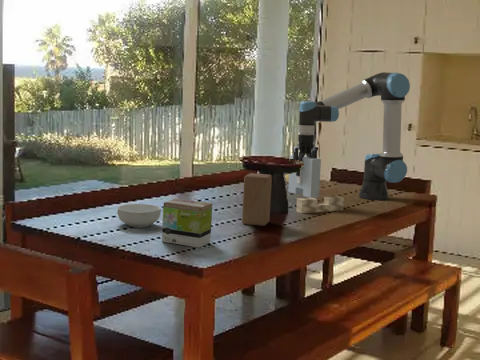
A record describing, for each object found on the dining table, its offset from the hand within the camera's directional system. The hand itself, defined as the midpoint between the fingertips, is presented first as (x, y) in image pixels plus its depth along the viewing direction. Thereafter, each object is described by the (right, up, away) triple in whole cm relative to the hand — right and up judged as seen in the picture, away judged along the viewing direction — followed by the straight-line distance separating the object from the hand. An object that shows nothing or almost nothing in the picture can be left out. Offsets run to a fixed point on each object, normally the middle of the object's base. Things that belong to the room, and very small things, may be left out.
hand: (303, 182), depth 350 cm
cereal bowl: (-70, -17, -64) cm, 97 cm away
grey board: (0, -6, +1) cm, 6 cm away
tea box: (-50, -21, -89) cm, 104 cm away
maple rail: (+6, -13, -14) cm, 20 cm away
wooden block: (-24, -17, -49) cm, 57 cm away
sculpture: (0, -1, +69) cm, 69 cm away
